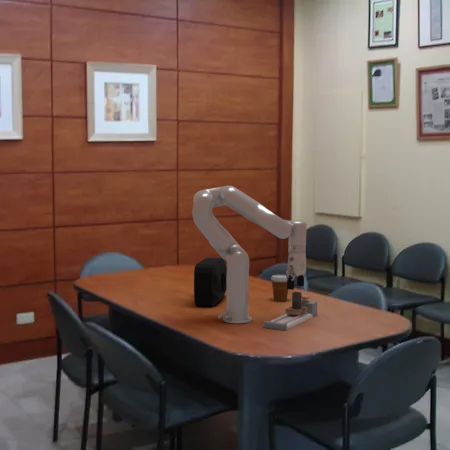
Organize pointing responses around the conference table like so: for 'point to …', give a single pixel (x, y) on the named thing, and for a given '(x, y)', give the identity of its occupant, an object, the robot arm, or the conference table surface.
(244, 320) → the robot arm
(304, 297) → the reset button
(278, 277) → the disposable coffee cup
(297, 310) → the carriage
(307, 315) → the rail track
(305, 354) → the conference table surface
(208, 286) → the black hard case
